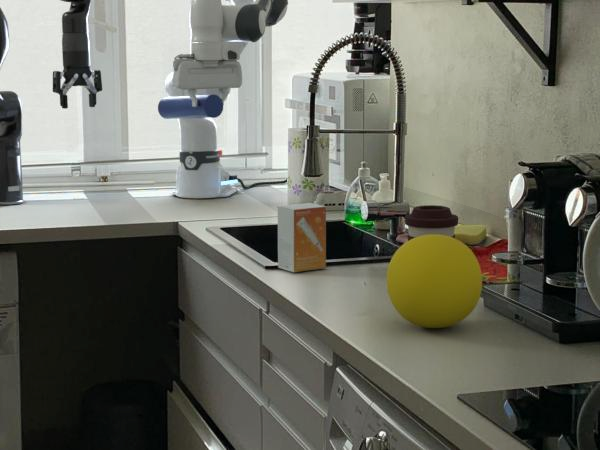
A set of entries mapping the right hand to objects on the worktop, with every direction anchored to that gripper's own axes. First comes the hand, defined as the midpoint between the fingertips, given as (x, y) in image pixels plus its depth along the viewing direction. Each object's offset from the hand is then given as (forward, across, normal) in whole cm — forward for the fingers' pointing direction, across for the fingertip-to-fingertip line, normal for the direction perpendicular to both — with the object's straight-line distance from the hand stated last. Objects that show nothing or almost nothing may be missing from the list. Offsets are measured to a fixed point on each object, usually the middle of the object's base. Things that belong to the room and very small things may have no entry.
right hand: (208, 106), depth 280 cm
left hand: (+1, -20, +36) cm, 41 cm away
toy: (+30, -35, -120) cm, 129 cm away
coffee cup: (+30, -15, -100) cm, 105 cm away
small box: (+30, -24, -71) cm, 81 cm away
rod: (+4, 0, +9) cm, 10 cm away
